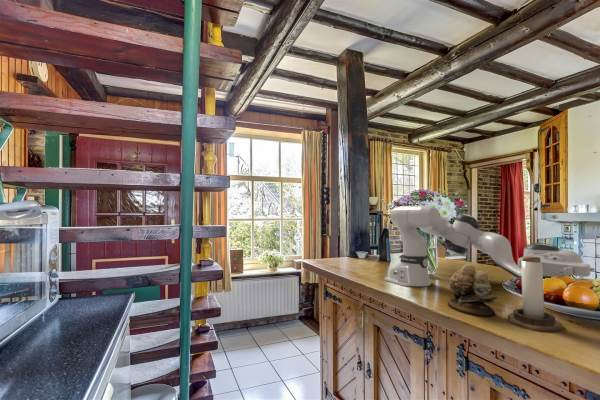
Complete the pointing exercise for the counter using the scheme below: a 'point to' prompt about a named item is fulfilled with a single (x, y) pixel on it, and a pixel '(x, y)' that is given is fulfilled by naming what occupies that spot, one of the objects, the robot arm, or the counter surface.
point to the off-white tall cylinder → (532, 287)
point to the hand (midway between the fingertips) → (545, 268)
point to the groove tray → (537, 328)
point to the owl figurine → (471, 292)
